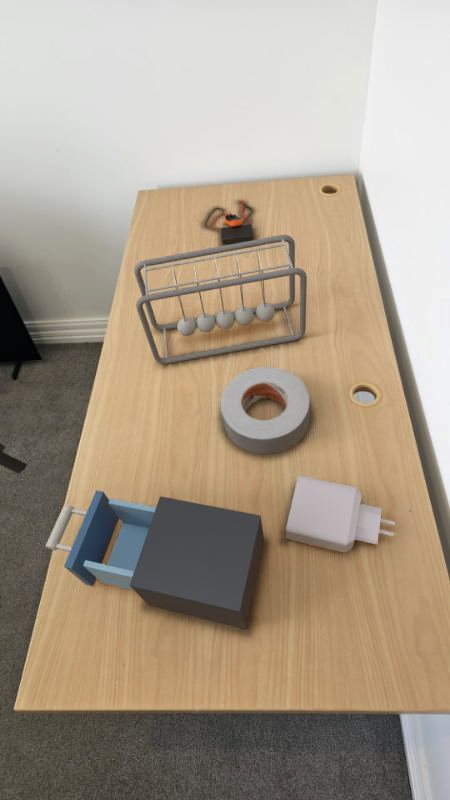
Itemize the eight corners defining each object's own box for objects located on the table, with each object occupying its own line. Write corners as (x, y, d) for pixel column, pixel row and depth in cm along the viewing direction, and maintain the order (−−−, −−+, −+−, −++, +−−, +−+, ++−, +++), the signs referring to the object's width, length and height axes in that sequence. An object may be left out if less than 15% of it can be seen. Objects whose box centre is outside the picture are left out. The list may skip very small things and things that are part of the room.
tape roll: (207, 410, 91) (203, 393, 87) (275, 369, 95) (274, 352, 91) (255, 470, 83) (253, 456, 79) (327, 424, 87) (329, 408, 82)
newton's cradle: (294, 303, 105) (294, 231, 90) (305, 339, 98) (307, 268, 84) (153, 329, 105) (131, 261, 91) (156, 367, 99) (132, 300, 84)
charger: (388, 565, 72) (285, 540, 76) (394, 507, 77) (298, 486, 80) (393, 554, 68) (285, 528, 72) (400, 493, 73) (298, 472, 77)
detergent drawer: (56, 577, 75) (31, 558, 68) (85, 508, 82) (65, 484, 74) (171, 605, 71) (157, 588, 64) (193, 529, 77) (182, 506, 70)
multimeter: (207, 202, 129) (205, 190, 127) (253, 198, 128) (252, 186, 125) (203, 246, 119) (200, 234, 116) (253, 243, 118) (252, 230, 115)
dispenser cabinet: (148, 605, 72) (129, 585, 64) (174, 524, 79) (159, 495, 71) (246, 630, 69) (239, 611, 60) (264, 542, 76) (260, 515, 67)
